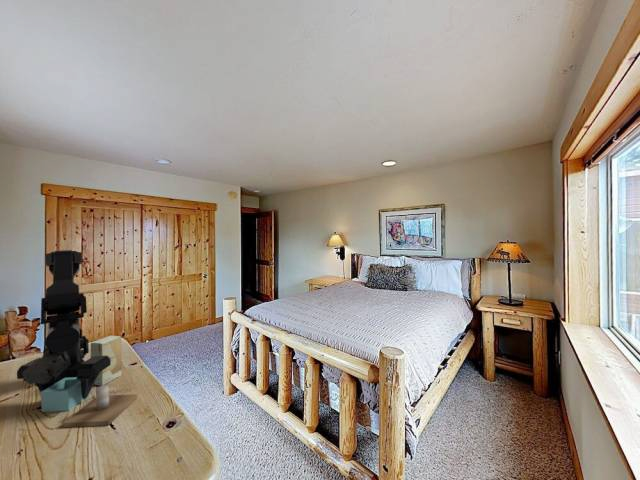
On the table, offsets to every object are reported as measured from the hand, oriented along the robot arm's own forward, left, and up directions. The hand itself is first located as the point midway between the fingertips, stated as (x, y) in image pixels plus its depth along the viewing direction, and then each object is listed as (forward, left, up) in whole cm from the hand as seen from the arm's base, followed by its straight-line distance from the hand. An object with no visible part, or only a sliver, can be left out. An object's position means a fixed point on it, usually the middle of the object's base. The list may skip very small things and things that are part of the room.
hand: (67, 399), depth 69 cm
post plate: (+12, -4, -1) cm, 13 cm away
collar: (0, 0, -1) cm, 1 cm away
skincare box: (+2, +11, -1) cm, 11 cm away
